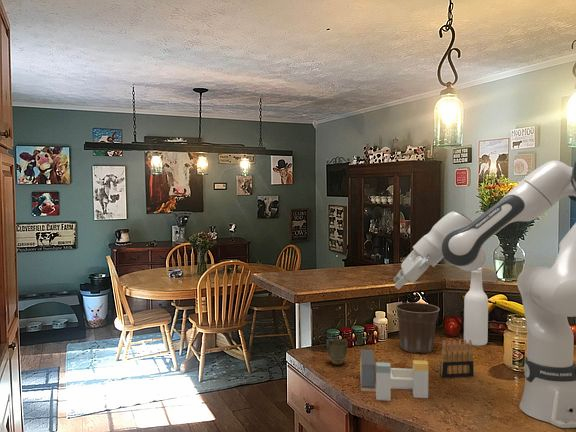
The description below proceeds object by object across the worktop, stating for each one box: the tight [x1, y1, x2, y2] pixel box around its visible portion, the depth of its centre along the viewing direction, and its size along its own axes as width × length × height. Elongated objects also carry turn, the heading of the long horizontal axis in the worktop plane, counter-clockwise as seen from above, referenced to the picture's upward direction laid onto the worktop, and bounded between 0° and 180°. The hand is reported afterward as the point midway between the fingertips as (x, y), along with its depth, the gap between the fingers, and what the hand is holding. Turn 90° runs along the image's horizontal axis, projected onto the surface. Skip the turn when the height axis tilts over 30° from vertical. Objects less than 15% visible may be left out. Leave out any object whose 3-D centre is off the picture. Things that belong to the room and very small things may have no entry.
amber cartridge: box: [412, 359, 429, 399], centre depth 144 cm, size 4×3×10 cm
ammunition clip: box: [439, 339, 475, 379], centre depth 159 cm, size 11×2×12 cm, turn 96°
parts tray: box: [391, 367, 413, 390], centre depth 153 cm, size 9×9×3 cm
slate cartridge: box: [375, 361, 392, 402], centre depth 142 cm, size 4×3×10 cm
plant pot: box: [395, 302, 441, 354], centre depth 186 cm, size 16×16×16 cm
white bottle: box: [463, 267, 489, 347], centre depth 193 cm, size 9×9×30 cm
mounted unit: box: [359, 349, 376, 393], centre depth 154 cm, size 5×16×8 cm, turn 173°
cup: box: [325, 338, 349, 366], centre depth 170 cm, size 8×7×8 cm
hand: (395, 284), depth 154 cm, fingers open, 8 cm apart
